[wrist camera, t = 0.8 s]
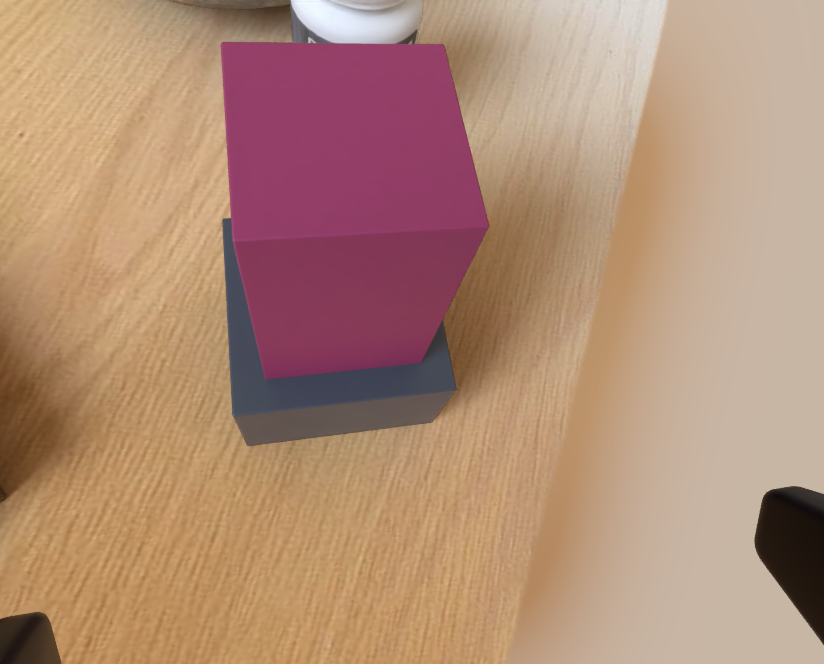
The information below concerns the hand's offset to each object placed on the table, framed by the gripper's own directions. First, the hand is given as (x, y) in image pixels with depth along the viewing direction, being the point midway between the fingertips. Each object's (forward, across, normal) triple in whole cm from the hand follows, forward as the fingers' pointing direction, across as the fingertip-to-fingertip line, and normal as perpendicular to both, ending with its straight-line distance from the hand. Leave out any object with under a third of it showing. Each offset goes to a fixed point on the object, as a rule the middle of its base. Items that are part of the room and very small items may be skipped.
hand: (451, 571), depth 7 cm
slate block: (+15, 0, +2) cm, 15 cm away
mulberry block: (+12, 0, 0) cm, 12 cm away
